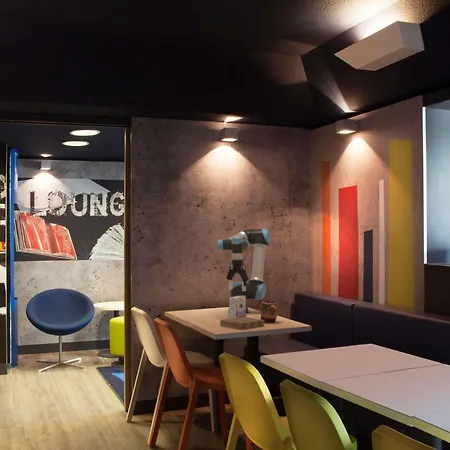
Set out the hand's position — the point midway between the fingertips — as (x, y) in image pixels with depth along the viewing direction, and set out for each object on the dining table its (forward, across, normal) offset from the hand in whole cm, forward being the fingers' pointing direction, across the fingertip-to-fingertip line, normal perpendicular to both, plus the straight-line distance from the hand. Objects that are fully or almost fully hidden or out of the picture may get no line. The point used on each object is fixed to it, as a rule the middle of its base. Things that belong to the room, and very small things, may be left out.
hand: (237, 290), depth 415 cm
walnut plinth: (+21, +20, -14) cm, 32 cm away
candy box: (+21, 0, 0) cm, 21 cm away
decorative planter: (+21, +21, +10) cm, 31 cm away
